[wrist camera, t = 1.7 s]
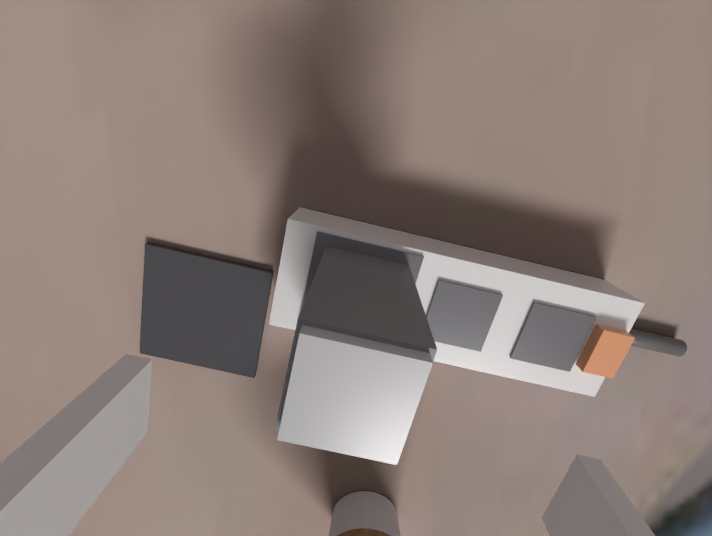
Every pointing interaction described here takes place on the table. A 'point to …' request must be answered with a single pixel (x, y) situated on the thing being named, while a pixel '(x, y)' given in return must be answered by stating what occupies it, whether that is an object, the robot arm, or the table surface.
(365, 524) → the coffee cup
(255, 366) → the mat
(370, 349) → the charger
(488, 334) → the power strip
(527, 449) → the table surface
